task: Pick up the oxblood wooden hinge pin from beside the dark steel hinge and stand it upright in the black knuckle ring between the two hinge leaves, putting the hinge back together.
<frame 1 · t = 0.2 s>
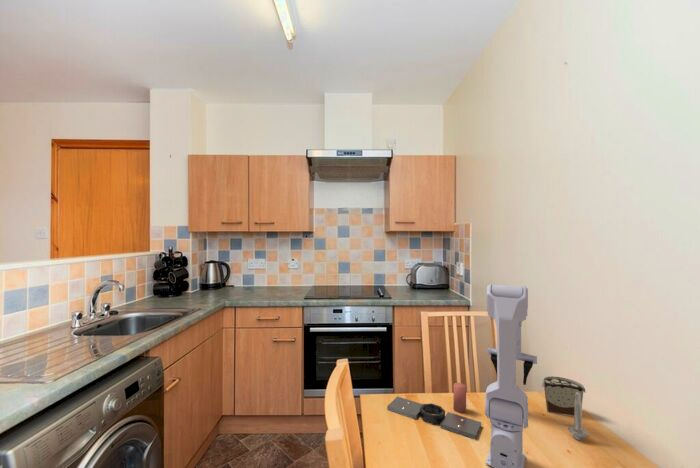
hand: (511, 380, 103), 10 cm above the table, tool pointing down, fingers open, 7 cm apart
hinge: (432, 417, 98), on the table
hinge pin: (459, 409, 103), on the table
food container: (560, 410, 104), on the table
screw: (578, 438, 89), on the table
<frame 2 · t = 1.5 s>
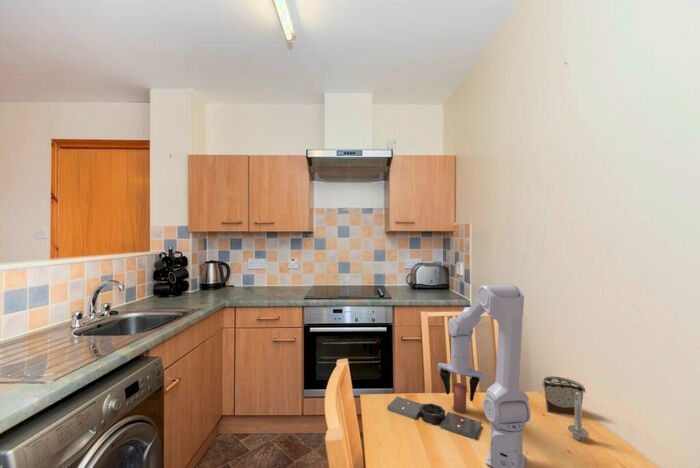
hand: (459, 396, 103), 4 cm above the table, tool pointing down, fingers open, 7 cm apart
nothing on the table moved.
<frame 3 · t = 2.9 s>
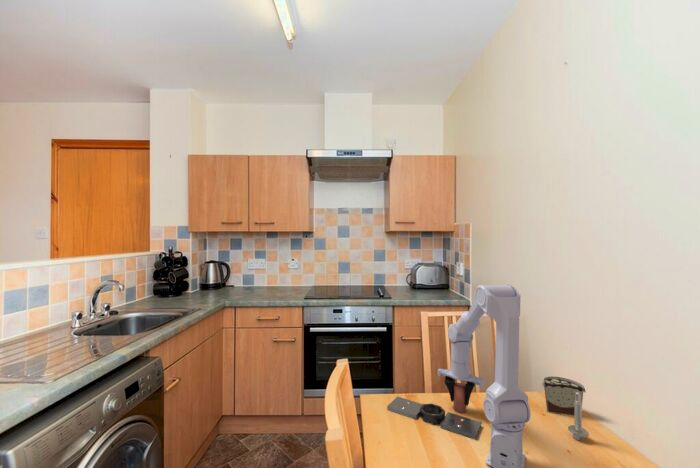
hand: (459, 402, 103), 2 cm above the table, tool pointing down, fingers closed on hinge pin, 4 cm apart
hinge pin: (459, 409, 103), on the table, touching gripper
everything else where it was.
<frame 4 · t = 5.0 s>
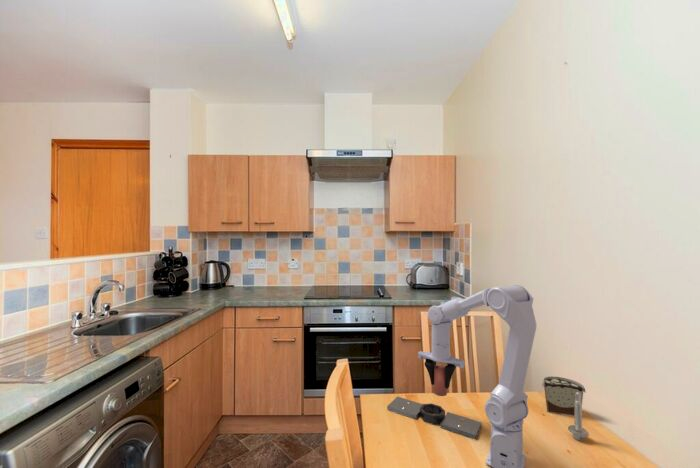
hand: (440, 385, 100), 9 cm above the table, tool pointing down, fingers closed on hinge pin, 4 cm apart
hinge pin: (440, 393, 100), point 7 cm above the table, touching gripper
everything else where it was.
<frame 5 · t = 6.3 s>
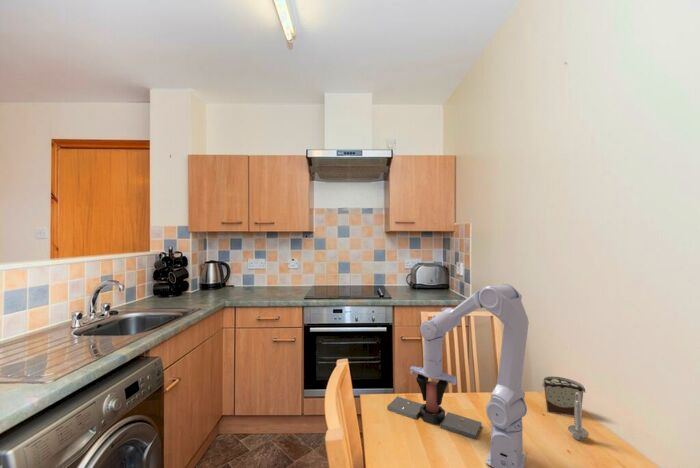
hand: (432, 401, 98), 5 cm above the table, tool pointing down, fingers closed on hinge pin, 4 cm apart
hinge pin: (432, 409, 98), point 2 cm above the table, touching gripper
everything else where it was.
when the fingers open (4 cm above the table, at t = 7.3 s): hinge pin drops 1 cm, resting in hinge.
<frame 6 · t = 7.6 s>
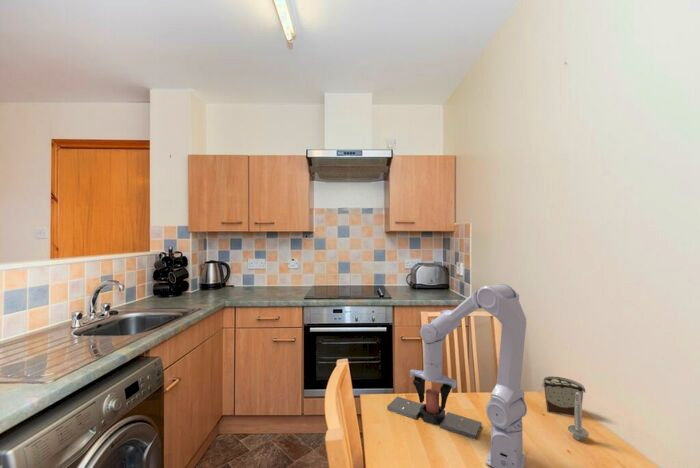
hand: (432, 404, 98), 4 cm above the table, tool pointing down, fingers open, 6 cm apart
hinge pin: (432, 417, 98), resting in hinge
everything else where it was.
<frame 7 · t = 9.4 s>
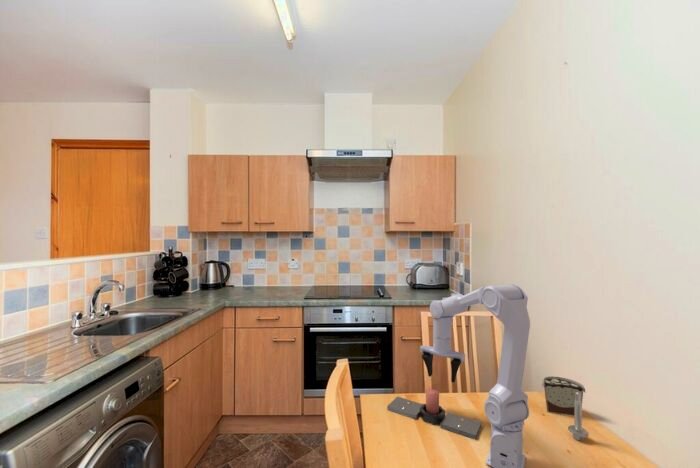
hand: (441, 378, 103), 10 cm above the table, tool pointing down, fingers open, 7 cm apart
nothing on the table moved.
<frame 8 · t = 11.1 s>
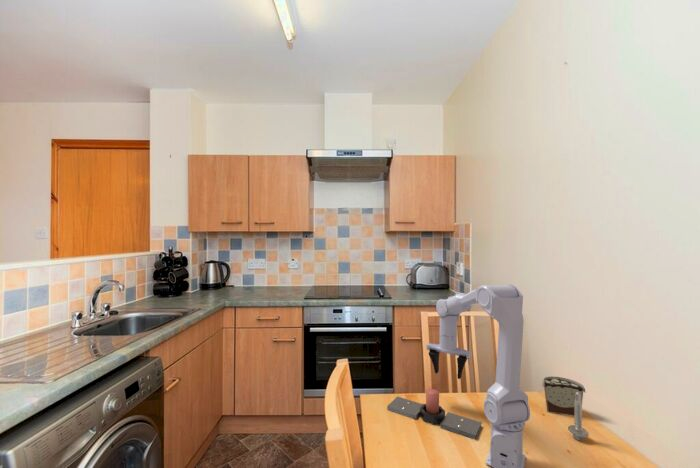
hand: (447, 375, 105), 10 cm above the table, tool pointing down, fingers open, 7 cm apart
nothing on the table moved.
at the end: hinge pin 0.0 cm off-centre on the hinge, point 0.0 cm above the hinge's base; hinge pin tilted 0°; the gripper is holding nothing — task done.
